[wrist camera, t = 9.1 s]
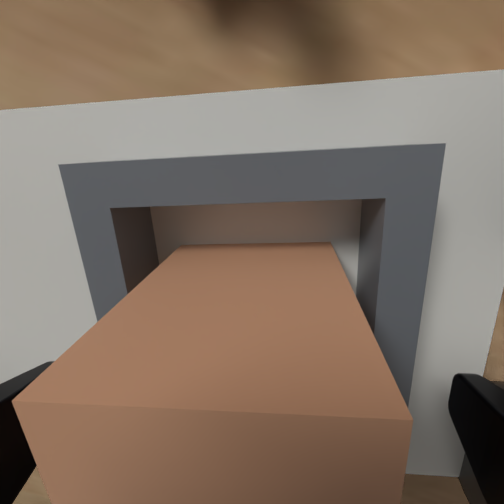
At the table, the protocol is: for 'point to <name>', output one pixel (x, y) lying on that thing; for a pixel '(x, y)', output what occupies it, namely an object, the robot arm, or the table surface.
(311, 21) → the table surface
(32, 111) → the chassis
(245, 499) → the tan rectangular block
